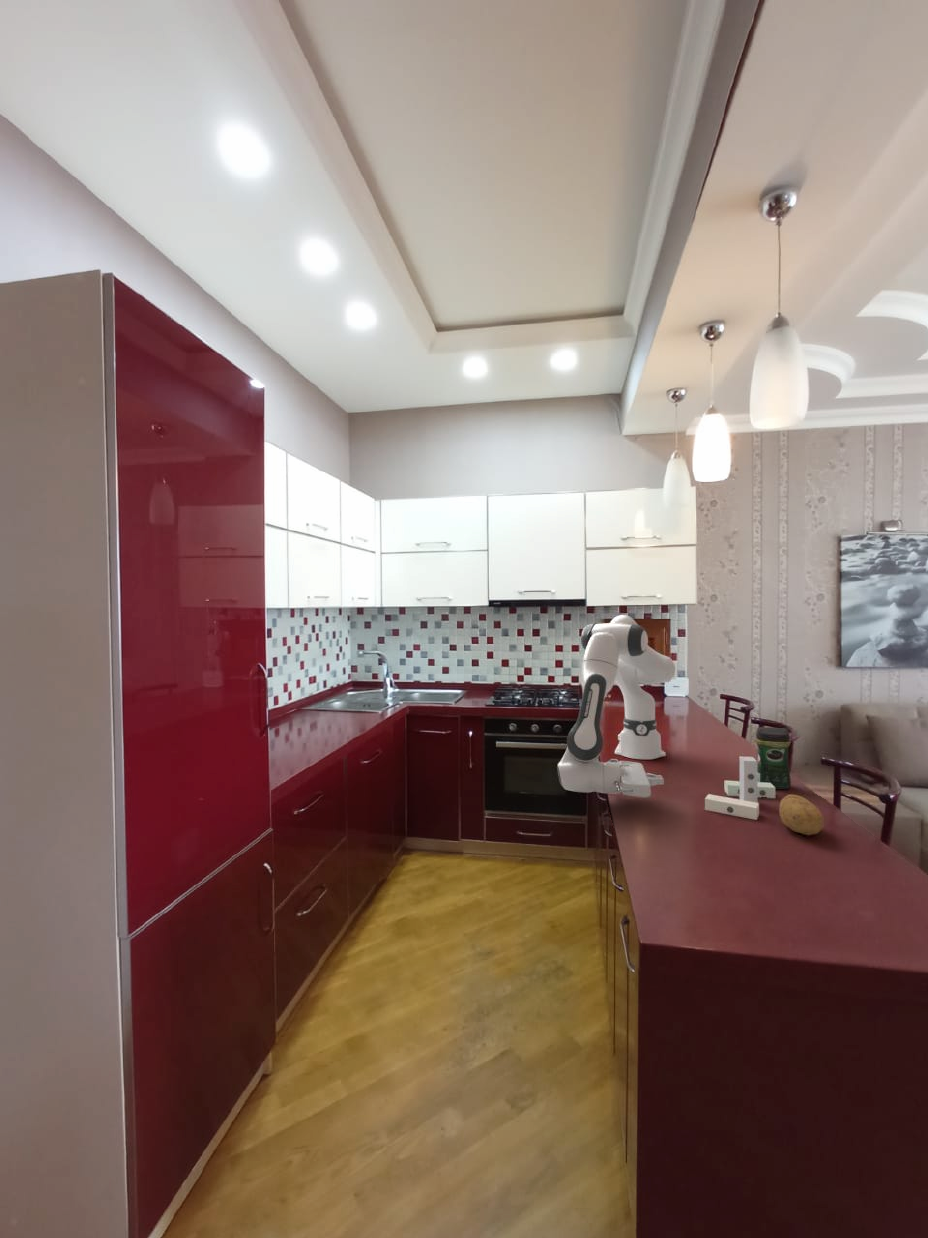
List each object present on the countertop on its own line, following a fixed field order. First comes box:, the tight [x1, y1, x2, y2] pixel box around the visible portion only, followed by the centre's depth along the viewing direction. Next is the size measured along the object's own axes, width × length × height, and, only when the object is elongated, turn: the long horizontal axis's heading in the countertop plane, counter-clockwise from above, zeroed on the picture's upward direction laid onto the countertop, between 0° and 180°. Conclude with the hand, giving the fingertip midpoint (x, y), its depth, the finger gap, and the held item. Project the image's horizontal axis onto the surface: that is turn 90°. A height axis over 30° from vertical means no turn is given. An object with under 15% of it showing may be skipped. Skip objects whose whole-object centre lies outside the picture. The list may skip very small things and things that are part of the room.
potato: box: [778, 794, 825, 837], centre depth 138 cm, size 10×14×8 cm
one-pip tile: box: [704, 793, 760, 821], centre depth 152 cm, size 5×4×13 cm
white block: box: [723, 779, 776, 799], centre depth 165 cm, size 5×4×13 cm
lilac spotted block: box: [739, 756, 758, 803], centre depth 158 cm, size 5×4×13 cm
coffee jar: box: [755, 726, 792, 790], centre depth 172 cm, size 10×8×19 cm
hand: (663, 780), depth 157 cm, fingers closed
